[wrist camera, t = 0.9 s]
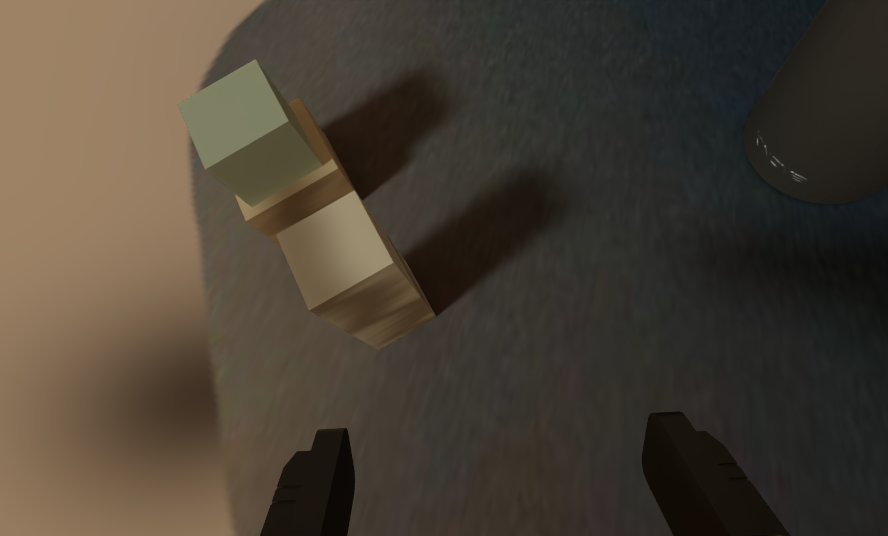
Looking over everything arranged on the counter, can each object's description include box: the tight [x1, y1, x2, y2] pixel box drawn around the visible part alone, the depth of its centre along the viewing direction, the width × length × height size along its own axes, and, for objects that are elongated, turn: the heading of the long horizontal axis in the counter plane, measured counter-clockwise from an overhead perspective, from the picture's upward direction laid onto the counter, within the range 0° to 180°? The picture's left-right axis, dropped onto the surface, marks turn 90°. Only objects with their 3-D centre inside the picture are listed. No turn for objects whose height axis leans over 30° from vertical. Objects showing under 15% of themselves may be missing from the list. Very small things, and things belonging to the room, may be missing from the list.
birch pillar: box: [276, 190, 436, 350], centre depth 29 cm, size 4×4×11 cm
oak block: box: [235, 97, 359, 248], centre depth 36 cm, size 7×7×5 cm
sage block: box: [178, 59, 323, 207], centre depth 31 cm, size 6×6×5 cm
